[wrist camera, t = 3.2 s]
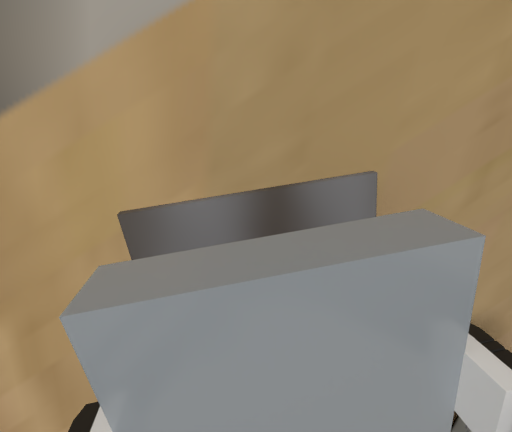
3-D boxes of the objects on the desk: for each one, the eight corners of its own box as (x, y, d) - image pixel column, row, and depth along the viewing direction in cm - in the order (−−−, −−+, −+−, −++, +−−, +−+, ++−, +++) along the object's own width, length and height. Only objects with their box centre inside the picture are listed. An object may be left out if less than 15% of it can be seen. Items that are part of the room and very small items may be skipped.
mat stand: (179, 399, 17) (168, 485, 13) (120, 211, 12) (76, 255, 8) (368, 356, 18) (413, 424, 14) (372, 171, 14) (437, 192, 10)
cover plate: (177, 476, 13) (169, 554, 10) (99, 266, 9) (58, 317, 6) (404, 419, 14) (442, 480, 11) (423, 208, 10) (485, 235, 7)
